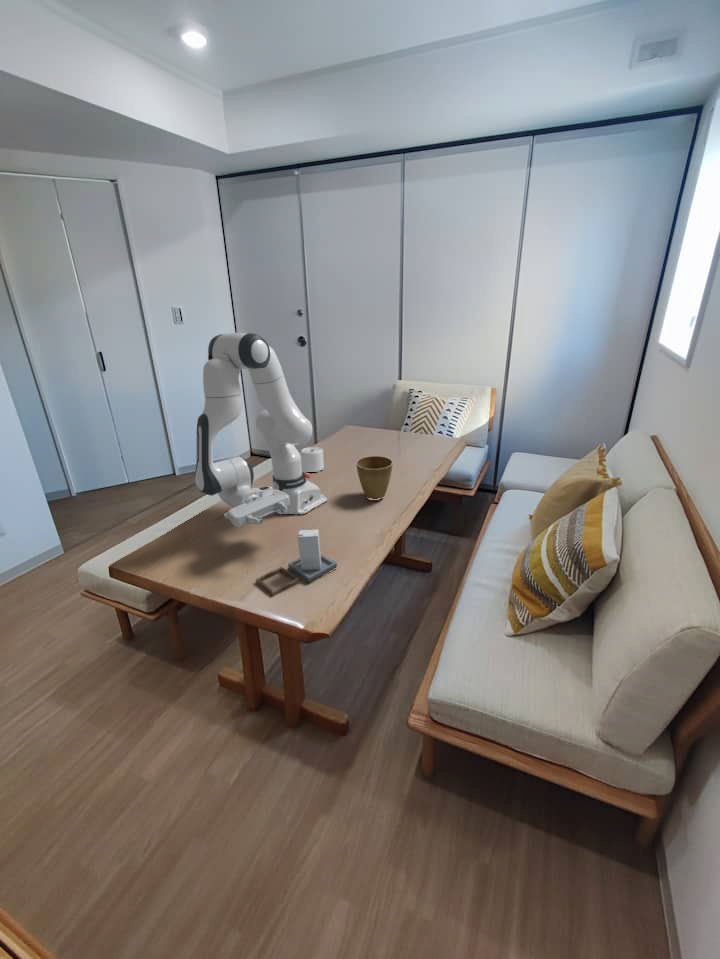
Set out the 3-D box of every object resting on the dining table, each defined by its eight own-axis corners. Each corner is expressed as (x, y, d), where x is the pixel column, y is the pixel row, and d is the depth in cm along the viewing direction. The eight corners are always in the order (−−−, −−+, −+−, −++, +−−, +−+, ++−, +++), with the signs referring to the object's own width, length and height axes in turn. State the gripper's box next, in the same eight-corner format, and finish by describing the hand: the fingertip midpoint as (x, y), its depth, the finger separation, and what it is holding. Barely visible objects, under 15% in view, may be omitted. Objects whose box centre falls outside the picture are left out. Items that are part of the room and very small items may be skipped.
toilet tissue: (327, 466, 213) (326, 447, 209) (319, 475, 202) (317, 455, 198) (307, 464, 215) (305, 446, 211) (298, 473, 204) (296, 453, 200)
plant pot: (364, 488, 187) (363, 454, 181) (396, 493, 182) (397, 458, 176) (351, 502, 174) (350, 466, 168) (385, 507, 169) (386, 470, 163)
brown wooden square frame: (281, 569, 131) (281, 566, 130) (299, 582, 125) (299, 578, 124) (256, 582, 125) (255, 579, 125) (273, 596, 119) (273, 592, 119)
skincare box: (321, 562, 133) (319, 528, 128) (320, 570, 128) (318, 536, 124) (301, 563, 132) (298, 529, 128) (300, 571, 128) (297, 536, 123)
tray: (315, 555, 138) (314, 550, 137) (336, 568, 131) (336, 563, 130) (288, 569, 131) (288, 563, 130) (309, 583, 124) (309, 578, 123)
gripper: (219, 505, 133) (242, 520, 124) (274, 484, 146) (298, 495, 137) (223, 523, 136) (245, 538, 127) (276, 500, 149) (300, 513, 139)
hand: (273, 516), depth 132 cm, fingers open, 8 cm apart
